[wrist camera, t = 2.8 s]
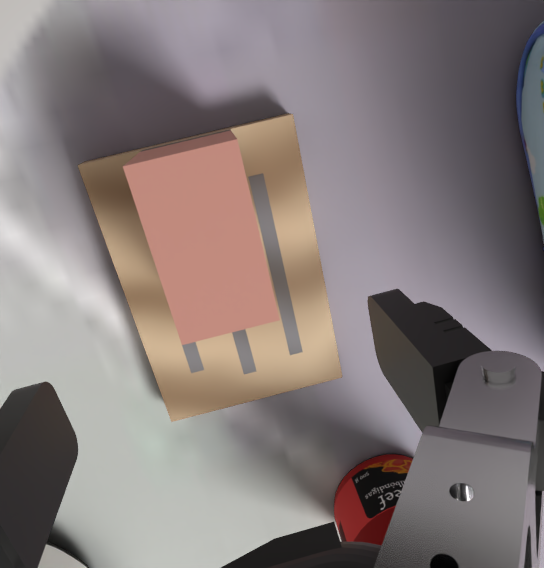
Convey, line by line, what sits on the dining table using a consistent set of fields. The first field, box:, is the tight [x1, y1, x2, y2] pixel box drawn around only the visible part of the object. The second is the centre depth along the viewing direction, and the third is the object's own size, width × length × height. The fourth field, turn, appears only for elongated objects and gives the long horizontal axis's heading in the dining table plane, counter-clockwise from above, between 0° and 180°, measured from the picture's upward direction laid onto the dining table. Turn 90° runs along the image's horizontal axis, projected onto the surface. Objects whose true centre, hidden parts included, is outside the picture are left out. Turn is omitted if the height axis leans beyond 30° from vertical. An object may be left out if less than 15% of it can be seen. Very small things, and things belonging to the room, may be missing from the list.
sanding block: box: [123, 129, 280, 345], centre depth 23 cm, size 8×4×6 cm, turn 12°
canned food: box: [334, 454, 413, 546], centre depth 31 cm, size 8×8×11 cm
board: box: [78, 113, 342, 422], centre depth 28 cm, size 16×11×2 cm
